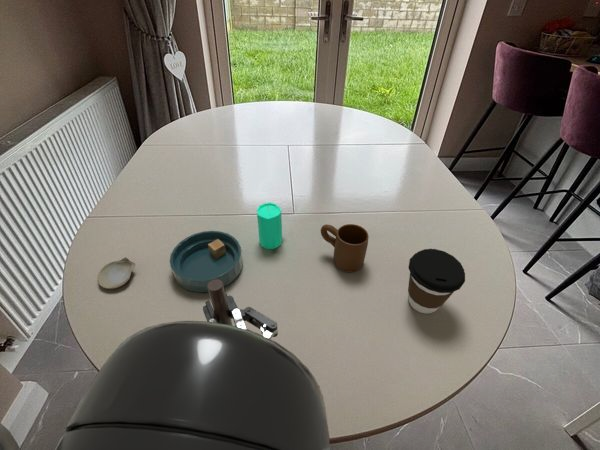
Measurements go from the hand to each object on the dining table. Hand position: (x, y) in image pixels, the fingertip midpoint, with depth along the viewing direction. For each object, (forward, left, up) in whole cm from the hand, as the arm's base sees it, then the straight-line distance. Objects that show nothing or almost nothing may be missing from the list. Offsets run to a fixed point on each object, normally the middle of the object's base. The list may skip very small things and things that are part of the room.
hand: (216, 301), depth 54 cm
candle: (+24, +20, -16) cm, 35 cm away
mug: (+34, +4, -16) cm, 38 cm away
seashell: (-11, +32, -16) cm, 37 cm away
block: (+11, +24, -15) cm, 31 cm away
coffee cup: (+39, -17, -16) cm, 46 cm away
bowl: (+7, +22, -16) cm, 28 cm away
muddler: (-1, -3, -9) cm, 10 cm away
